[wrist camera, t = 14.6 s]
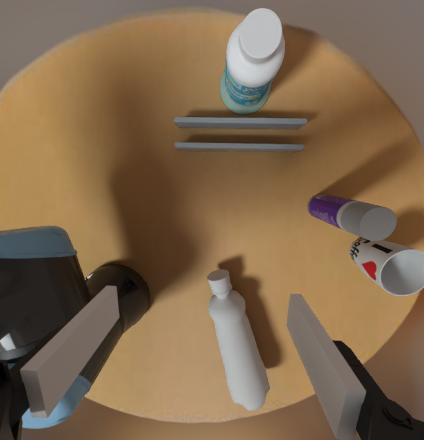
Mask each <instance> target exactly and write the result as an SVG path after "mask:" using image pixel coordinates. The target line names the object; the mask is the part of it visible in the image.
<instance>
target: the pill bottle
mask: <svg viewBox="0 0 424 440" xmlns="http://www.w3.org/2000/svg"><path fill="white" fill-rule="evenodd" d="M284 55H285V41H284V36H283V33H282V25H281V22H280V20H279V18H278V16H277V15H276V14H275V13H274V12H273V11H271V10H269V9H266V8H260V9H256V10H254V11H252V12H251V13H250V14H248V15H247V17H246V18H245V19H244V21H242V22H241V23H240V24H239V25H238V26H237V27H236V28H235V30H234V31H233V33H232V35H231V37H230V39H229V42H228V46H227V54H226V72H225V91H226V94H227V97H228V98H229V100H230V101H231V102H232V103H233V104H234V105H236V106H238V107H241V108H249V107H252V106H255V105H256V104H258V103H259V102H260V101H261V100H262V98H263V97H264V95H265V94H266V92H267V90H268V88H269V87H270V85H271V83H272V81H273V80H274V78H275V76H276V74H277V73H278V71H279V69H280V67H281V65H282V62H283V59H284Z"/></svg>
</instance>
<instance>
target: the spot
mask: <svg viewBox="0 0 424 440" xmlns="http://www.w3.org/2000/svg"><path fill="white" fill-rule="evenodd" d="M225 72H226V69H225V71H224V73H223V75H222V78H221V82H220V93H221V97H222V100H223V102H224V104H225V105H226V106H227V107H228V108H229V109H230V110H231V111H233V112H235V113H237V114H243V115H244V114H251V113H253V112H255V111H257V110H259V109H260V108H261V107H262V106H263V105H264V104H265V102H266V101H267V99H268V96H269V94H270V90H271V85H270V87H269V88H268V90H267V92H266V94H265V95H264V97H263V98H262V100H261V101H260V102H259V103H258V104H256V105H255V106H252V107H249V108H241V107H238V106H236V105H234V104H233V103H232V102H231V101H230V100H229V98H228V97H227V94H226V91H225Z"/></svg>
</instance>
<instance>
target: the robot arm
mask: <svg viewBox="0 0 424 440" xmlns="http://www.w3.org/2000/svg"><path fill="white" fill-rule="evenodd" d="M76 254H77V251H76V250H74V248H73V245H72V243H71V240H70V238H69V236H68V234H67V232H66V231H65V230H64V229H62V228H60V227H57V226H40V227H30V228H21V229H13V230H5V231H0V440H21V432H22V427H24V428H46V427H51V426H54V425H56V424H59V423H61V422H62V421H64V420H65V419H67V418H68V417H69V416H70V415H71V414H72V413H73V412H74V410H75V409H76V407H77V406H78V404H79V403H80V401H81V400H82V398H83V397H84V396H85V394H87V392H89V390H90V388H91V386H92V384H93V383H94V381H95V379H96V378H97V376H98V374H99V373H100V371H101V369H102V368H103V366H104V364H105V362H106V361H107V359H108V357H109V356H110V354H111V352H112V351H113V349H114V347H115V346H116V344H117V342H118V341H119V339H120V337H121V336H122V334H123V333H124V332H125V331H127V330H128V329H129V328H130V327H131V326H133V325H134V324H136V323H137V322H138V321H139V320H140V319H141V318H142V316H143V315H144V313H145V311H146V309H147V307H148V305H149V300H150V295H149V290H148V287H147V285H146V283H145V281H144V280H143V278H142V277H141V276H140V275H139V274H138V273H136V272H135V271H133V270H132V269H130V268H128V267H125V266H122V265H113V264H112V265H105V266H102V267H100V268H98V269H96V270H95V271H94V272H92V273H91V274H90V275H88V276H87V277H86V279H85V278H84V275H83V273H82V270H81V267H80V264H79V261H78V258H77V255H76ZM286 326H287V328H288V330H289V332H290V335H291V337H292V339H293V342H294V344H295V346H296V349H297V351H298V353H299V355H300V358H301V360H302V362H303V365H304V367H305V369H306V371H307V374H308V376H309V378H310V381H311V383H312V385H313V388H314V390H315V392H316V394H317V397H318V399H319V401H320V403H321V405H322V408H323V410H324V413H325V415H326V417H327V420H328V422H329V424H330V426H331V429H332V431H333V433H334V435H335V438H336V439H345V440H346V439H347V440H354V437H355V433H356V430H357V432H358V434H359V436H360V438H361V440H424V422H422V421H419V420H416V419H414V418H412V417H411V415H410V414H409V413H408V412H407V411H406V410H405V409H404V408H403V407H401V406H400V405H398V404H397V403H396V402H394V401H392V400H389V399H388V398H387V397H386V396H385V394H384V393H383V392H382V390H381V389H380V388H379V386H378V385H377V384H376V382H375V381H374V380H373V378H372V377H371V376H370V375H369V373H368V372H367V370H366V369H365V368H364V367H363V365H362V364H361V362H360V361H359V360H358V359H357V357H356V355H355V354H354V353H353V351H352V350H351V349H350V348H349V347H348V346H347V345H345V344H344V343H343V342H342V341H334V340H331V338H330V337H329V335H328V334H327V332H326V331H325V329H324V328H323V326H322V325H321V323H320V322H319V320H318V319H317V317H316V316H315V314H314V313H313V311H312V310H311V308H310V307H309V305H308V304H307V302H306V301H305V299H304V298H303V296H302V295H301V294H290V302H289V309H288V317H287V325H286Z"/></svg>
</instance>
